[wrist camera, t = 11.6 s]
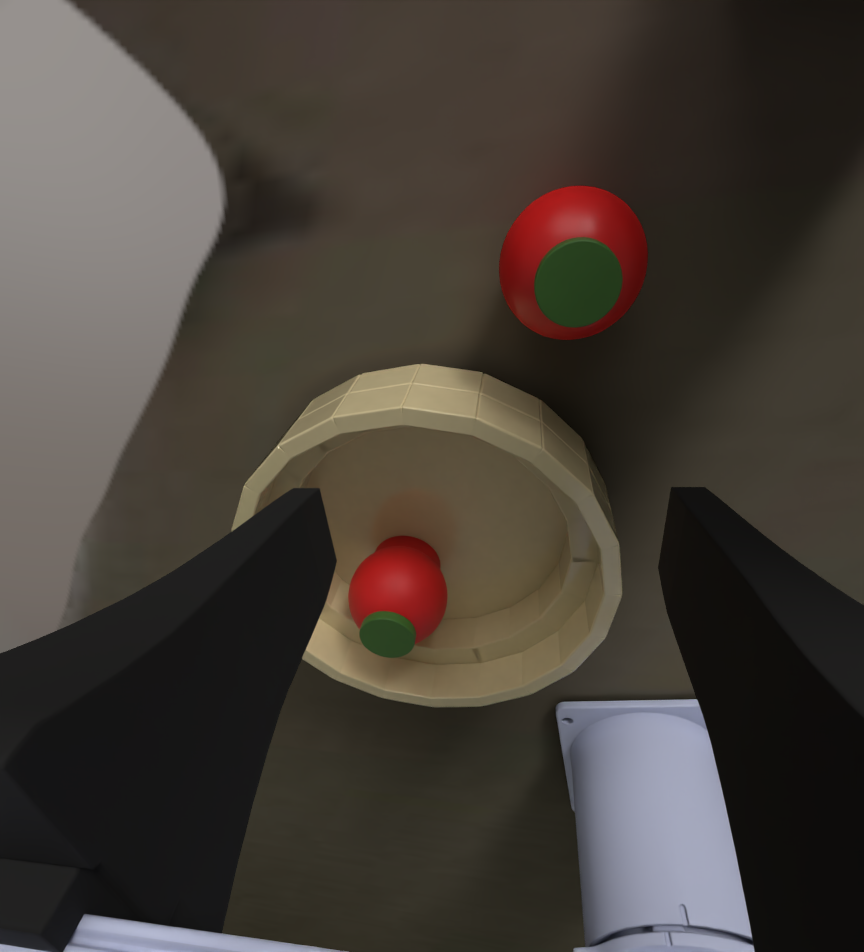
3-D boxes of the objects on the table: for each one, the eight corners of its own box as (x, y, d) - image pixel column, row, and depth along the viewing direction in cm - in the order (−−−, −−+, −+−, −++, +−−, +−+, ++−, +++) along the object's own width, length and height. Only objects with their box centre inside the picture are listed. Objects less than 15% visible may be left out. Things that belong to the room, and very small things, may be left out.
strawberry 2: (659, 258, 16) (697, 294, 13) (551, 340, 18) (558, 392, 14) (583, 146, 15) (601, 151, 11) (475, 246, 17) (463, 277, 13)
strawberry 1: (461, 592, 23) (450, 673, 20) (376, 597, 24) (351, 676, 21) (442, 520, 21) (426, 596, 18) (351, 529, 22) (319, 602, 19)
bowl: (614, 623, 24) (629, 704, 21) (333, 637, 27) (306, 710, 24) (592, 327, 17) (609, 375, 14) (224, 390, 20) (165, 441, 17)
